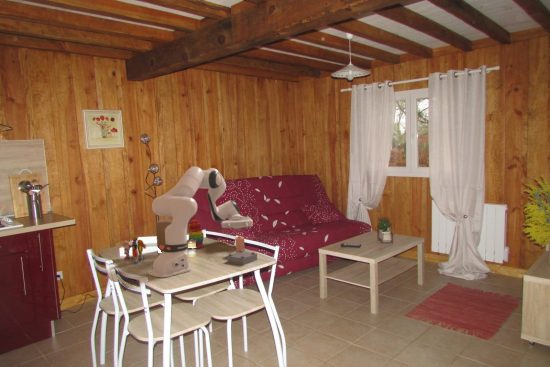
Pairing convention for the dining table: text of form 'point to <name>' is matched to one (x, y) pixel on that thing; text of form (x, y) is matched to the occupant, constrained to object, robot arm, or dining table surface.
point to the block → (162, 231)
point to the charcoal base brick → (242, 257)
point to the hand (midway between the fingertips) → (238, 226)
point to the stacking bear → (196, 233)
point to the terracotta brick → (239, 243)
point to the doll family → (134, 249)
